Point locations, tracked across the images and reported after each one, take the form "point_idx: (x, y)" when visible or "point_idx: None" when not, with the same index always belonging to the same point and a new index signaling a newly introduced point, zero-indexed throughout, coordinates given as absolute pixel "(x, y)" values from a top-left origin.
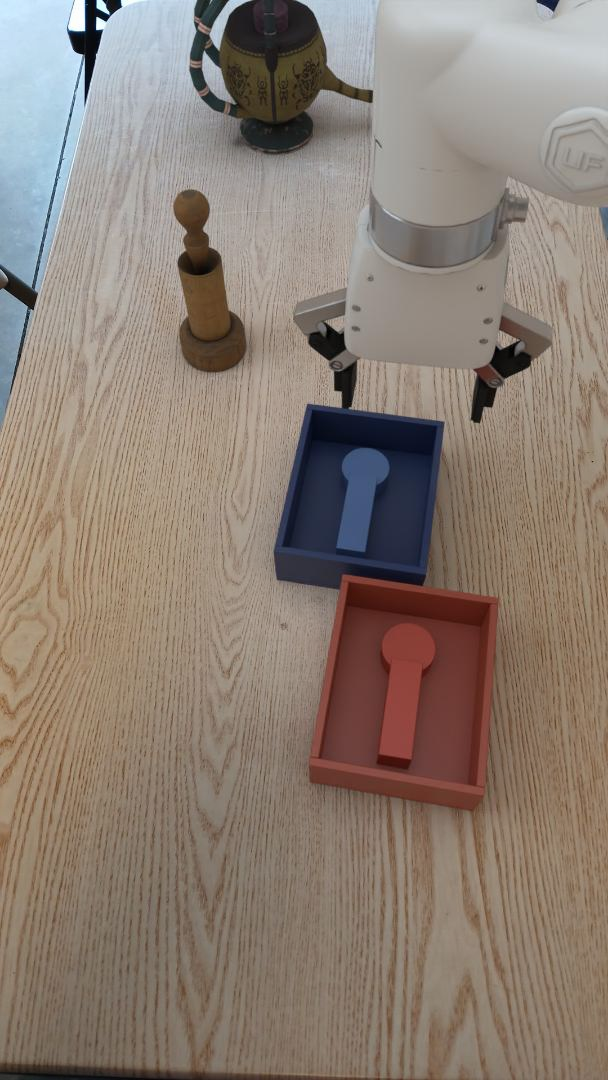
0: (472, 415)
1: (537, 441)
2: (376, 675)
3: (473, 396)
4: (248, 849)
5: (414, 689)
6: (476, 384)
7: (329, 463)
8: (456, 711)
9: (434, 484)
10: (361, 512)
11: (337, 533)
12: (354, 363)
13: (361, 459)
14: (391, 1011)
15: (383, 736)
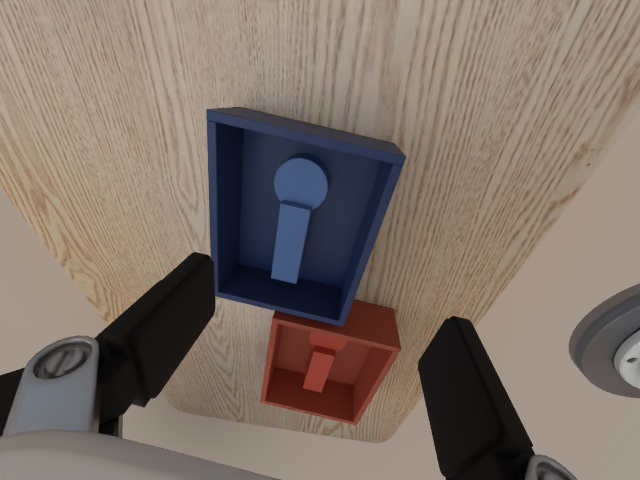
0: (421, 382)
1: (534, 127)
2: (308, 332)
3: (440, 347)
4: (245, 380)
5: (327, 367)
6: (451, 403)
7: (266, 154)
8: (356, 353)
9: (369, 248)
10: (293, 248)
11: None
12: (152, 368)
13: (295, 175)
14: (309, 423)
15: (305, 382)
